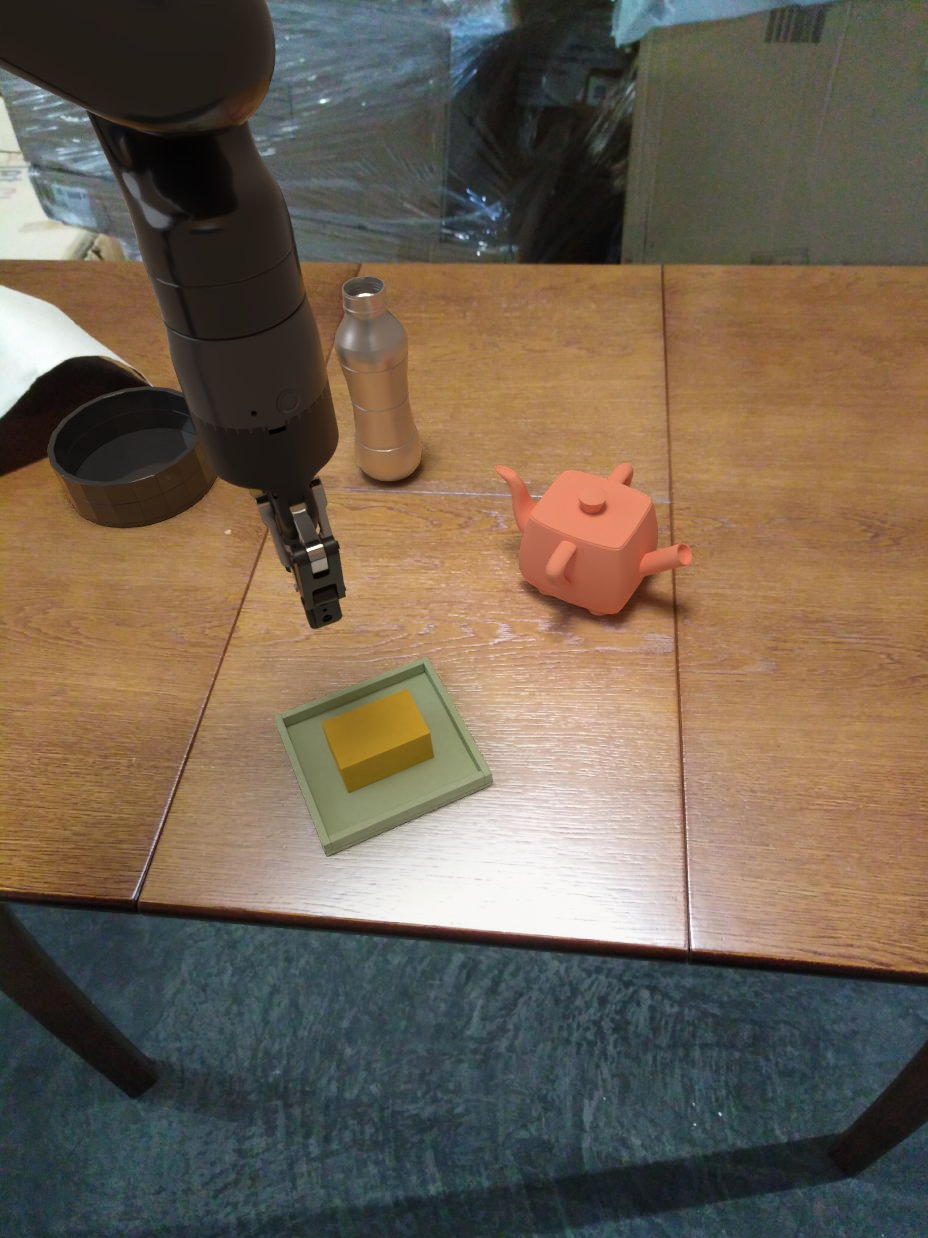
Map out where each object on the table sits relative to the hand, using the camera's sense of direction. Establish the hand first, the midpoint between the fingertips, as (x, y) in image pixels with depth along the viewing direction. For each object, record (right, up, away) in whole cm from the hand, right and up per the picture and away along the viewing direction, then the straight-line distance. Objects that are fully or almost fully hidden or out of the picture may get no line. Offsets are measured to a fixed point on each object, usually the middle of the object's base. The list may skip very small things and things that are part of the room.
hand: (313, 592), depth 60 cm
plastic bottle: (+3, +13, +31) cm, 34 cm away
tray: (+4, -12, +9) cm, 16 cm away
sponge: (+4, -12, +9) cm, 15 cm away
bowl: (-23, +13, +32) cm, 41 cm away
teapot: (+21, +2, +20) cm, 29 cm away
